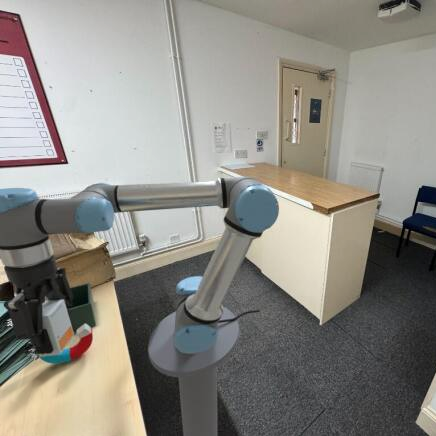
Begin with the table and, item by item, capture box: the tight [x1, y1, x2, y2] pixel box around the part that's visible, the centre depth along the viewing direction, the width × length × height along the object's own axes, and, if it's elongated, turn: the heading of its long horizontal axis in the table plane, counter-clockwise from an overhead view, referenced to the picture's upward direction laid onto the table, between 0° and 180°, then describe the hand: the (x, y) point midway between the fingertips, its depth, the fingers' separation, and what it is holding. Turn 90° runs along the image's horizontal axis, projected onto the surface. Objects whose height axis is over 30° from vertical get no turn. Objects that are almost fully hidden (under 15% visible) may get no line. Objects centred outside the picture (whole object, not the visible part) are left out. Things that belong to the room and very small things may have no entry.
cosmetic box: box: [38, 299, 75, 358], centre depth 57 cm, size 6×4×12 cm
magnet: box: [37, 323, 94, 365], centre depth 71 cm, size 12×3×10 cm, turn 129°
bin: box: [64, 282, 97, 334], centre depth 84 cm, size 14×10×10 cm
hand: (56, 340), depth 58 cm, fingers closed on cosmetic box, 6 cm apart
